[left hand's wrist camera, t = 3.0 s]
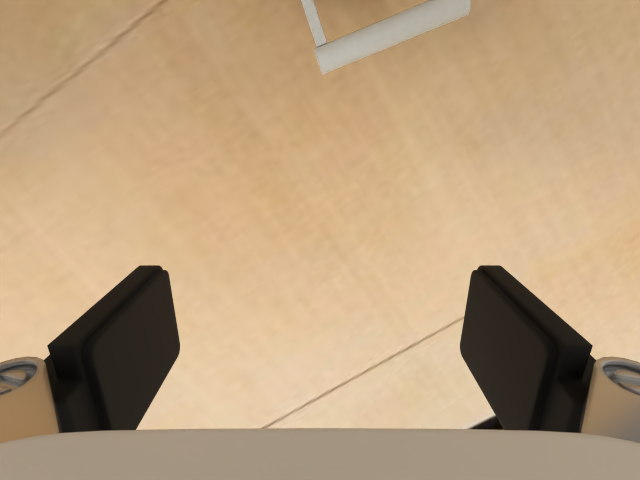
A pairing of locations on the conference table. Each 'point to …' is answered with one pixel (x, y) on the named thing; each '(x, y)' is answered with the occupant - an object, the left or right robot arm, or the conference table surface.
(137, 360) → the left robot arm
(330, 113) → the conference table surface
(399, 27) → the drawer
